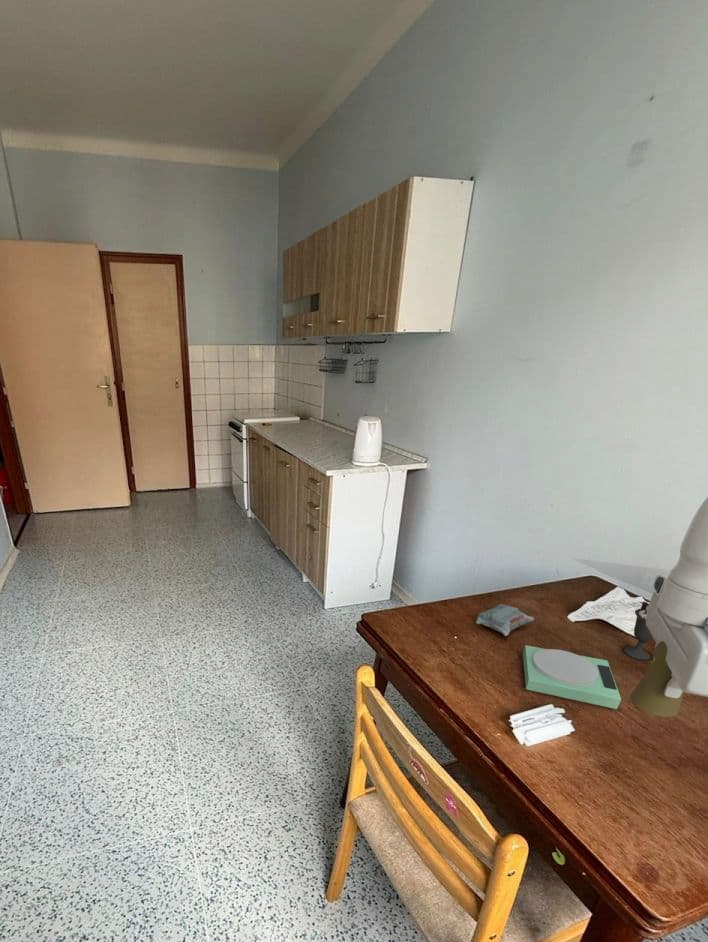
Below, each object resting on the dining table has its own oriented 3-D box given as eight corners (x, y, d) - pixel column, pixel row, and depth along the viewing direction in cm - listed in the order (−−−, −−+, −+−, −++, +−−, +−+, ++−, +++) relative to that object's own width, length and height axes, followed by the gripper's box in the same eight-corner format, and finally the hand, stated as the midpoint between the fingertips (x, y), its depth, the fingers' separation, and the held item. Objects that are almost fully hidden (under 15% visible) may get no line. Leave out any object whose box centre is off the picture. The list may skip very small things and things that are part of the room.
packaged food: (531, 627, 119) (536, 610, 117) (504, 642, 114) (508, 624, 112) (499, 614, 126) (503, 597, 124) (472, 627, 120) (475, 610, 118)
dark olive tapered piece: (689, 714, 71) (720, 654, 66) (654, 719, 70) (683, 659, 65) (653, 689, 77) (679, 631, 71) (620, 694, 76) (644, 636, 71)
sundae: (656, 665, 105) (683, 606, 98) (619, 656, 108) (643, 598, 101) (654, 651, 109) (679, 593, 102) (619, 642, 113) (641, 586, 106)
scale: (603, 669, 104) (609, 656, 102) (617, 709, 92) (623, 695, 91) (522, 654, 109) (526, 641, 108) (525, 689, 98) (529, 675, 97)
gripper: (765, 645, 56) (716, 733, 62) (703, 576, 72) (669, 651, 78) (698, 635, 58) (657, 721, 64) (653, 571, 74) (624, 644, 81)
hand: (663, 682), depth 72 cm, fingers closed on dark olive tapered piece, 4 cm apart
